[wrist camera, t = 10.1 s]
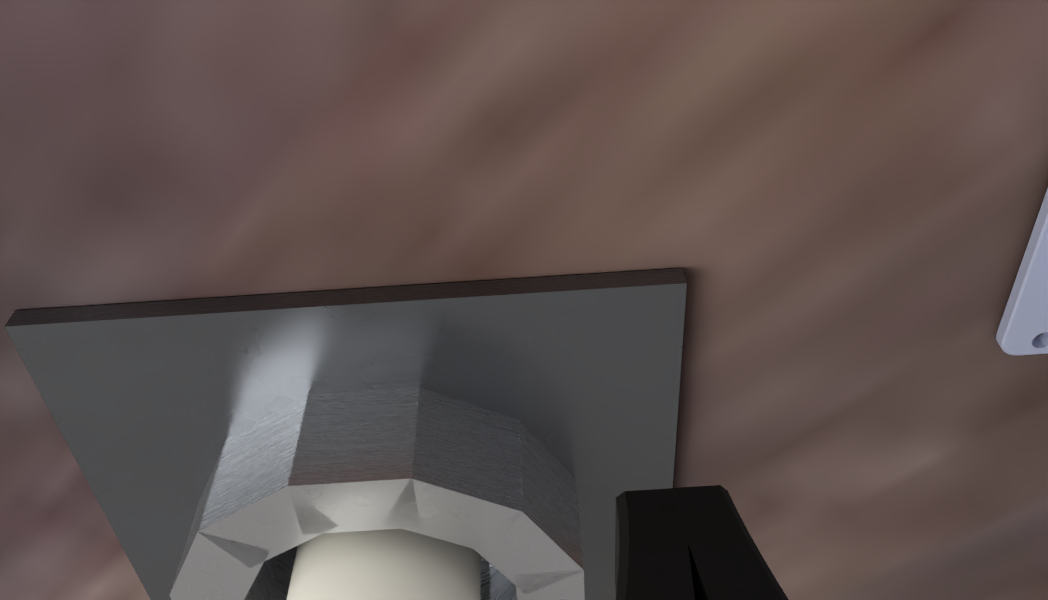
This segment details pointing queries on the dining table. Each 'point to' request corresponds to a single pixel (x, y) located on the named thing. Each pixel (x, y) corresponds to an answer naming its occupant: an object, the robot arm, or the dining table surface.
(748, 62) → the dining table surface
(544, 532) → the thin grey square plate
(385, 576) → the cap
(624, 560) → the robot arm
